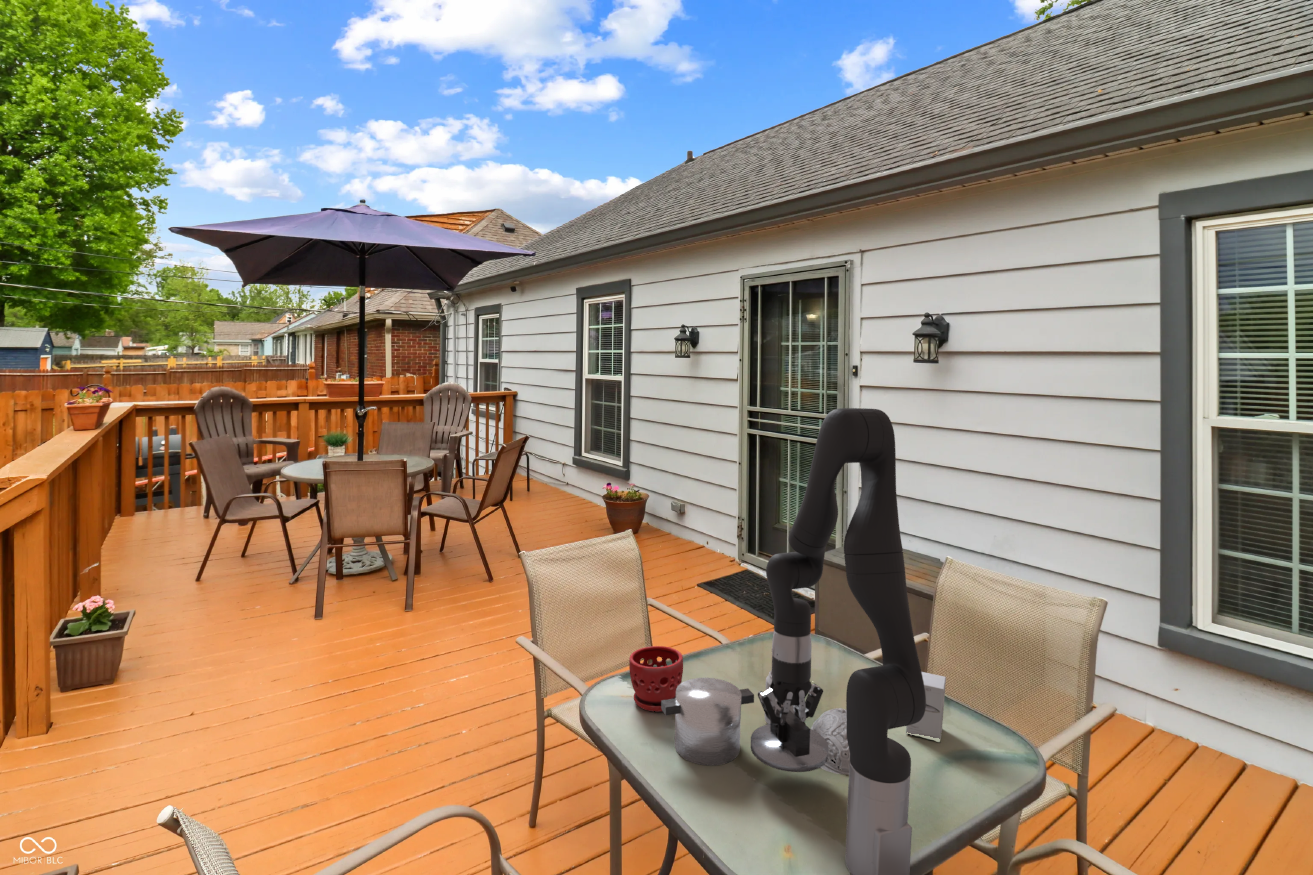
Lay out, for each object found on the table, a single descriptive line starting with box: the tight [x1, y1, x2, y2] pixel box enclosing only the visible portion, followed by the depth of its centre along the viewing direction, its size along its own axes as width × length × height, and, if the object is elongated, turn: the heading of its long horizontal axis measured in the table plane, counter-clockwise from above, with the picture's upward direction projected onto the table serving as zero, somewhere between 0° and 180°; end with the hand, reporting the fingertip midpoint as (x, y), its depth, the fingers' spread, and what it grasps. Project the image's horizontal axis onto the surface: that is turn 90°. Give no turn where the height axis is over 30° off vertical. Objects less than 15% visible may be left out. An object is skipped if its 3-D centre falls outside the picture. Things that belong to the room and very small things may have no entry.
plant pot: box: [628, 645, 684, 713], centre depth 156 cm, size 13×13×12 cm
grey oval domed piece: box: [810, 707, 850, 776], centre depth 140 cm, size 16×25×7 cm, turn 165°
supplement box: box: [905, 671, 947, 740], centre depth 145 cm, size 7×7×13 cm
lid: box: [750, 706, 830, 773], centre depth 126 cm, size 15×15×7 cm
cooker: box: [661, 677, 755, 766], centre depth 137 cm, size 14×20×12 cm
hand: (789, 738), depth 126 cm, fingers closed on lid, 3 cm apart
